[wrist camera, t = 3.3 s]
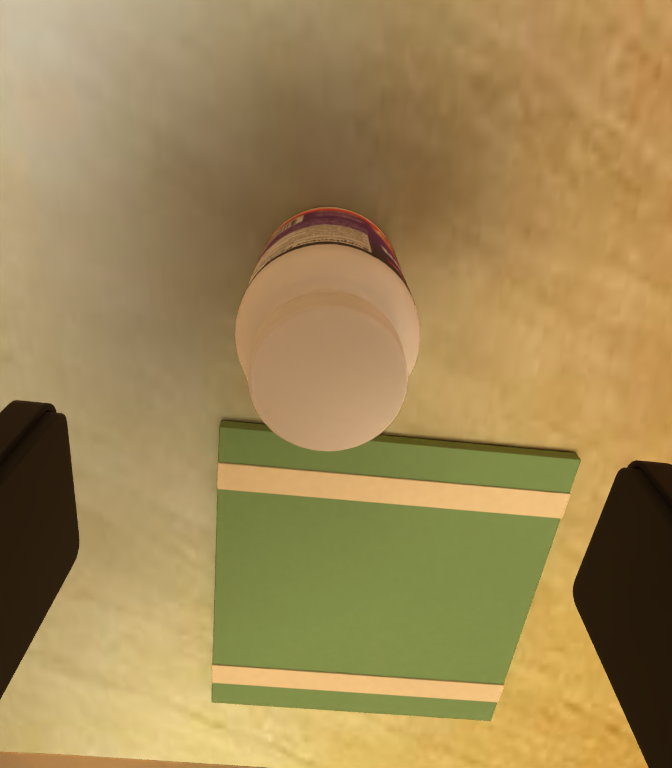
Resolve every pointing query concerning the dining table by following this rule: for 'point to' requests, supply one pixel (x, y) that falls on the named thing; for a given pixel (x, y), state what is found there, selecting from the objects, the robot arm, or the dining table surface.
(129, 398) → the dining table surface
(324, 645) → the towel
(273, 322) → the pill bottle
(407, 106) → the dining table surface
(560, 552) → the dining table surface
